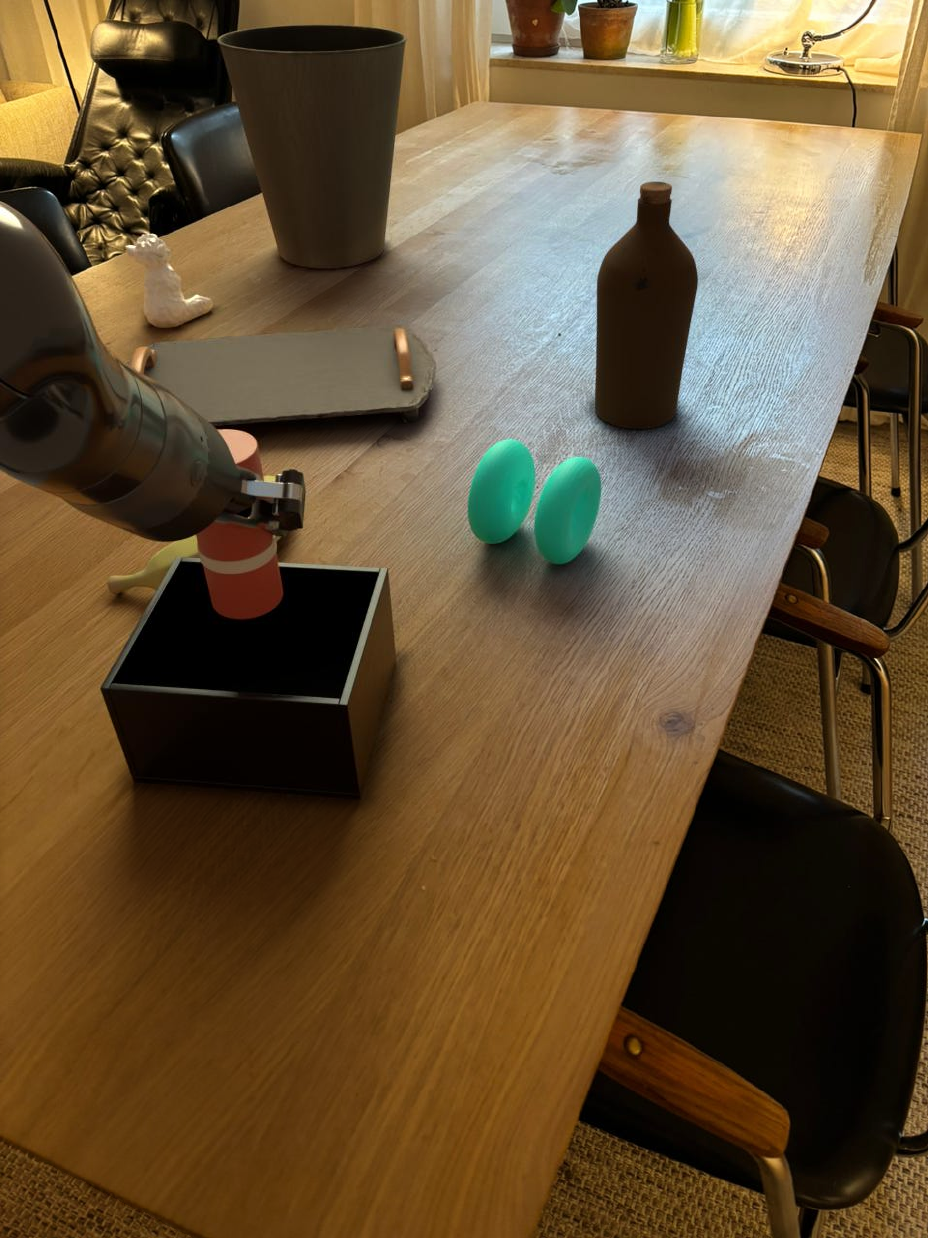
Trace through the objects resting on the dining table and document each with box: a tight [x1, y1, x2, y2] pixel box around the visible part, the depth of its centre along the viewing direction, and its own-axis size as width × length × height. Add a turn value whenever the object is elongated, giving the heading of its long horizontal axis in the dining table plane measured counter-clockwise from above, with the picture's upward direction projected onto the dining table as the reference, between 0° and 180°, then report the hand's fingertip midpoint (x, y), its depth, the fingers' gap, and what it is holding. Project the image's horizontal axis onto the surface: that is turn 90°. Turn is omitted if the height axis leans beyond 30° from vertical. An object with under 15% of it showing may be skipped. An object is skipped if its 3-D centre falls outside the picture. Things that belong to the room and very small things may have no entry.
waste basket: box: [216, 23, 408, 269], centre depth 149 cm, size 27×20×30 cm
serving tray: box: [126, 325, 437, 427], centre depth 119 cm, size 39×23×6 cm, turn 97°
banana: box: [106, 475, 282, 595], centre depth 95 cm, size 14×6×20 cm
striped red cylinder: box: [196, 428, 283, 619], centre depth 66 cm, size 5×5×12 cm
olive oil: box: [594, 181, 699, 430], centre depth 108 cm, size 11×11×25 cm
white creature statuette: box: [124, 233, 214, 329], centre depth 135 cm, size 10×9×12 cm
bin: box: [99, 557, 397, 800], centre depth 75 cm, size 17×15×10 cm
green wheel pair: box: [467, 438, 602, 565], centre depth 92 cm, size 10×10×10 cm
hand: (242, 519), depth 68 cm, fingers closed on striped red cylinder, 5 cm apart
